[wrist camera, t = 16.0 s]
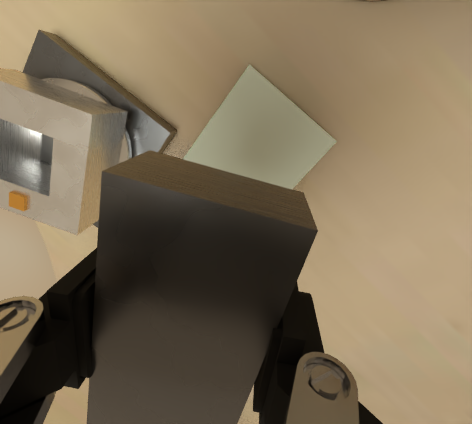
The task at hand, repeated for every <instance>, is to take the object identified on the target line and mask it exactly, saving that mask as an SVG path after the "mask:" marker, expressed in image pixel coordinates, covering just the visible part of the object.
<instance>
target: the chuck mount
mask: <svg viewBox="0 0 472 424" xmlns="http://www.w3.org/2000/svg"><path fill="white" fill-rule="evenodd" d="M23 73H26V74H28V75H31V76H34V77H36V78H39V79H45V78H60V79H68V80H74V81H77V82H80V83H83V84H85V85H87V86H89V87H91V88H93V89H94V90H96V91H97V92H99V93H100V94H101V95H102V96H104V97H105V98H106V99H107V100H108V101H109V102H110V103H111V104H112V105H113V106H114V107H117V108H120V109H122V110H125V111H128V113H127V119H126V125H125V126H126V128H127V131H128V134H129V137H130V141H131V148H132V158H133V157H135V156H137V155H140V154H142V153H144V152H147V151H149V150H151V151H155V152H158V153H163V151H164V150H165V148H166V147H167V145H168V144H169V142H170V141H171V139H172V138H173V136H174V135H175V133H176V132H177V130H176V129H174V128H173V127H172V126H171V125H169V124H168V123H167V122H166V121H164V120H163V119H162V118H161V117H159V116H158V115H157V114H156V113H154V112H153V111H152V110H150V109H149V108H148V107H147V106H145V105H144V104H143V103H142V102H140V101H139V100H138V99H137V98H135V97H134V96H133V95H132V94H130V93H129V92H128V91H126V90H125V89H124V88H123V87H121V86H120V85H119V84H118V83H116V82H115V81H114V80H113V79H111V78H110V77H109V76H108V75H106V74H105V73H104V72H103V71H101V70H100V69H99V68H97V67H96V66H95V65H94V64H92V63H91V62H90V61H89V60H87V59H86V58H85V57H84V56H82V55H81V54H80V53H79V52H77V51H76V50H75V49H74V48H72V47H71V46H70V45H68V44H67V43H66V42H65V41H63V40H62V39H61V38H60V37H58V36H57V35H55V34H52V33H49V32H45V31H42V30H39V31H38V33H37V36H36V39H35V41H34V44H33V46H32V49H31V52H30V54H29V57H28V60H27V62H26V65H25V68H24V70H23ZM93 225H95V226H96V227H98V226H99V220H98V221H97V222H95V223H94V224H93Z"/></svg>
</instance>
